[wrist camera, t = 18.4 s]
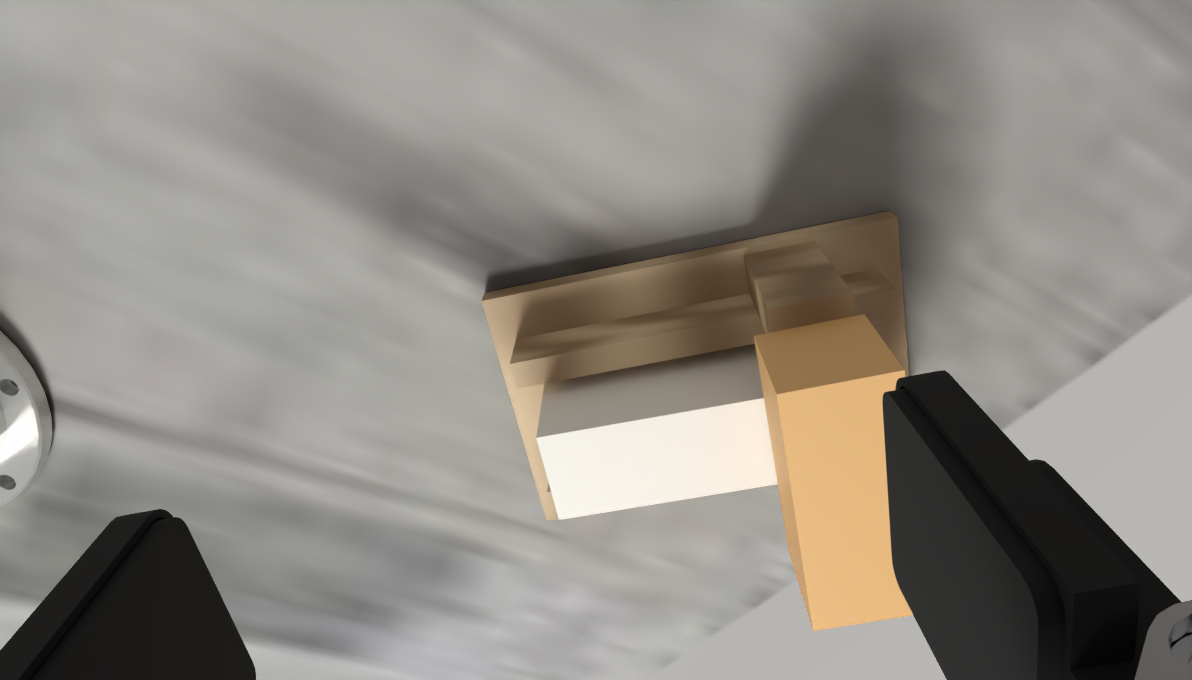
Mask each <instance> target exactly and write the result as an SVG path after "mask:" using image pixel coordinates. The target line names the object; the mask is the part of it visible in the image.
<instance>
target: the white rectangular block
mask: <svg viewBox="0 0 1192 680" xmlns="http://www.w3.org/2000/svg"><path fill="white" fill-rule="evenodd" d="M536 439H537V443H538V446H539V450H540V454H541V457H542V461H543V464H544V468H545V472H546V475H547V479H548V482H549V486H550V489H551V493H552V497H553V500H554V504H555V507H556V511H557V515H558V518H559V520H562V519H568V518H574V517H580V516H586V515H592V514H598V513H605V512H611V511H617V510H623V509H629V508H635V507H641V506H647V505H653V504H659V503H665V502H672V501H678V500H684V499H690V498H696V497H702V496H708V495H714V494H720V493H726V492H732V491H739V490H745V489H751V488H757V487H763V486H769V485H775V484H778V482H777V476H776V470H775V464H774V458H773V452H772V445H771V439H770V433H769V427H768V421H767V415H766V408H765V402H764V396H763V390H762V384H761V378H760V372H759V365H758V359H757V353H756V347H755V344H751V345H746V346H740V347H735V348H730V349H724V350H719V351H714V352H709V353H703V354H698V355H693V356H687V357H682V358H677V359H672V360H666V361H661V362H656V363H651V364H645V365H640V366H635V367H629V368H624V369H619V370H614V371H608V372H603V373H598V374H592V375H587V376H582V377H577V378H571V379H566V380H561V381H555V382H550V383H545V384H544V390H543V396H542V403H541V409H540V416H539V422H538V429H537V435H536Z"/></svg>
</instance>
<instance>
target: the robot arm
mask: <svg viewBox="0 0 1192 680" xmlns="http://www.w3.org/2000/svg"><path fill="white" fill-rule="evenodd" d="M883 421H884V438H885V454H886V471H887V487H888V504H889V520H890V537H891V554H892V564H893V569H894V573H895V577H896V580H897V583H898V586H899V588H900V590H901V592H902V594H903V596H904V598H905V600H906V602H907V604H908V606H909V608H910V609H911V611H912V613H913V615H914V617H915V619H916V621H917V623H918V625H919V627H920V629H921V630H922V633H923V635H924V636H925V638H926V640H927V642H928V644H929V646H930V648H931V650H932V652H933V654H934V656H935V658H936V660H937V662H938V663H939V665H940V667H941V669H942V671H943V673H944V675H945V677H946V679H947V680H1192V600H1190V601H1186V602H1181V601H1180V600H1179V599H1178V598H1177V597H1176V596H1175V595H1174V594H1173V593H1172V592H1171V591H1170V590H1169V589H1168V588H1167V587H1166V586H1165V585H1164V583H1163V582H1161V581H1160V579H1159V578H1158V577H1157V576H1156V575H1155V574H1154V573H1153V572H1152V571H1151V570H1150V569H1149V568H1148V567H1147V566H1146V565H1145V564H1144V563H1143V562H1142V560H1141V559H1140V558H1139V557H1138V556H1137V555H1136V554H1135V553H1134V552H1133V551H1132V550H1131V549H1130V548H1129V547H1128V546H1127V545H1126V544H1125V543H1124V542H1123V541H1122V539H1120V537H1119V536H1118V535H1116V533H1115V532H1114V531H1113V530H1112V529H1111V528H1110V527H1109V526H1108V525H1107V524H1106V523H1105V522H1104V521H1103V520H1102V519H1101V517H1100V516H1098V514H1097V513H1096V512H1095V511H1094V510H1093V509H1092V508H1091V507H1090V506H1089V505H1088V504H1087V503H1086V502H1085V501H1084V500H1083V499H1082V498H1081V497H1080V496H1079V494H1078V493H1077V492H1076V491H1075V490H1074V489H1073V488H1072V487H1071V486H1070V485H1069V484H1068V483H1067V482H1066V481H1065V480H1064V479H1063V478H1062V477H1061V476H1060V475H1059V474H1058V472H1056V470H1055V469H1054V468H1053V467H1051V466H1050V465H1049V464H1047V463H1046V462H1045V461H1042V460H1037V459H1036V460H1030V461H1029V460H1028V459H1027V458H1026V457H1025V456H1024V455H1023V454H1022V453H1021V451H1020V450H1019V449H1018V448H1017V447H1016V446H1015V445H1014V444H1013V443H1012V442H1011V441H1010V440H1009V438H1008V437H1007V436H1006V435H1005V434H1004V433H1003V432H1002V431H1001V430H1000V429H999V427H998V426H997V425H996V424H995V423H994V422H993V421H992V420H991V419H990V418H989V417H988V416H987V414H986V413H985V412H984V411H983V410H982V409H981V408H980V407H979V406H978V405H977V404H976V402H975V401H974V400H973V399H972V398H971V397H970V396H969V395H968V394H967V393H966V392H965V391H964V389H963V388H962V387H961V386H960V385H959V384H958V383H957V382H956V381H955V380H954V379H953V377H952V376H951V375H950V374H949V373H947V372H946V371H936V372H931V373H925V374H919V375H914V376H908V377H902V378H899V379H898V380H897V382H896V387H895V390H894V391H888V392H885V393H884V394H883ZM51 441H52V420H51V412H50V409H49V405H48V402H47V398H46V395H45V392H44V390H43V388H42V386H41V384H40V382H39V380H38V378H37V376H36V374H35V372H34V370H33V368H32V367H31V366H30V364H29V363H28V362H27V360H26V359H25V357H24V356H23V355H22V353H21V352H20V351H19V349H18V348H17V347H16V346H15V345H14V344H13V343H12V342H11V341H10V340H9V339H8V338H7V337H6V336H5V335H4V334H3V333H2V332H1V331H0V506H2V505H4V504H6V503H8V502H10V501H12V500H13V499H14V498H15V497H16V496H17V495H19V494H20V493H21V492H22V491H23V490H24V489H26V488H27V487H28V486H29V485H30V484H31V483H32V482H33V480H34V479H35V478H36V477H37V476H38V474H39V473H40V472H41V471H42V469H43V466H44V464H45V462H46V460H47V458H48V456H49V452H50V447H51ZM0 680H256V673H255V667H254V664H253V662H252V660H251V658H250V655H249V653H248V651H247V649H246V647H245V645H244V643H243V641H242V639H241V637H240V635H239V633H238V631H237V628H236V626H235V624H234V622H233V620H232V618H231V616H230V614H229V612H228V610H227V608H226V606H225V604H224V602H223V599H222V597H221V595H220V593H219V591H218V589H217V587H216V585H215V583H214V581H213V579H212V577H211V575H210V572H209V570H208V568H207V566H206V564H205V562H204V560H203V558H202V556H201V554H200V552H199V550H198V548H197V546H196V543H195V541H194V539H193V537H192V535H191V533H190V531H189V529H188V527H187V525H186V524H185V522H184V521H183V520H182V519H180V518H177V517H174V518H173V516H172V515H171V514H170V513H169V512H167V511H166V510H162V509H158V510H152V511H147V512H141V513H135V514H130V515H124V516H120V517H116V518H115V519H114V520H113V521H111V522H110V523H109V525H108V526H107V527H106V528H105V529H104V530H103V532H102V533H101V534H100V535H99V536H98V537H97V539H96V540H95V541H94V542H93V543H92V544H91V546H90V547H89V548H88V549H87V550H86V551H85V553H84V554H83V555H82V556H81V557H80V558H79V560H78V561H77V562H76V563H75V564H74V565H73V567H72V568H71V569H70V570H69V571H68V572H67V574H66V575H65V576H64V577H63V578H62V579H61V581H60V582H59V583H58V584H57V585H56V586H55V587H54V589H53V590H52V591H51V592H50V593H49V594H48V596H47V597H46V598H45V599H44V600H43V601H42V603H41V604H40V605H39V606H38V607H37V608H36V610H35V611H34V612H33V613H32V614H31V615H30V617H29V618H28V619H27V620H26V621H25V622H24V624H23V625H22V626H21V627H20V628H19V629H18V631H17V632H16V633H15V634H14V635H13V636H12V638H11V639H10V640H9V641H8V642H7V643H6V645H5V646H4V647H3V648H2V649H1V650H0Z"/></svg>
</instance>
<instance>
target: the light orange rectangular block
mask: <svg viewBox="0 0 1192 680" xmlns="http://www.w3.org/2000/svg"><path fill="white" fill-rule="evenodd" d="M754 341H755V347H756V353H757V359H758V365H759V372H760V378H761V384H762V390H763V396H764V402H765V408H766V415H767V421H768V427H769V433H770V439H771V445H772V452H773V458H774V464H775V470H776V476H777V482H778V488H779V495H780V501H781V507H782V513H783V519H784V525H785V532H786V538H787V544H788V550H789V554H790V557H791V560H792V564H793V567H794V570H795V573H796V577H797V580H798V583H799V587H800V590H801V593H802V596H803V600H804V603H805V606H806V609H807V613H808V616H809V619H810V623H811V626H812V629H813V631H816V630H822V629H829V628H835V627H842V626H847V625H854V624H860V623H866V622H873V621H879V620H886V619H892V618H898V617H904V616H911V615H913V613H912V611H911V609H910V608H909V606H908V604H907V602H906V600H905V598H904V596H903V594H902V592H901V590H900V588H899V586H898V583H897V580H896V577H895V573H894V569H893V564H892V554H891V537H890V520H889V504H888V487H887V471H886V454H885V438H884V421H883V394H884V393H885V392H888V391H894V390H895V387H896V382H897V380H898V379H899V378H902V377H905V370H904V368H903V367H902V366H901V364H900V363H899V361H898V360H897V359H896V357H895V356H894V354H893V353H892V352H891V350H890V349H889V348H888V346H887V345H886V343H885V342H884V341H883V339H882V338H881V337H880V335H879V334H878V332H877V331H876V330H875V328H874V327H873V326H872V324H871V323H870V321H869V320H868V319H867V317H866V316H865V315H864V314H862V315H857V316H852V317H847V318H842V319H837V320H832V321H827V322H822V323H817V324H812V325H807V326H801V327H796V328H791V329H786V330H781V331H776V332H771V333H766V334H761V335H756V336H754Z"/></svg>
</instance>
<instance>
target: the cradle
mask: <svg viewBox="0 0 1192 680" xmlns="http://www.w3.org/2000/svg"><path fill="white" fill-rule="evenodd" d="M482 304H483V308H484V311H485V314H486V318H487V321H488V324H489V328H490V331H491V334H492V338H493V341H494V345H495V348H496V351H497V355H498V358H499V361H500V365H501V368H502V371H503V375H504V378H505V382H506V385H507V388H508V392H509V395H510V398H511V402H512V405H513V408H514V412H515V415H516V419H517V422H518V425H519V429H520V432H521V435H522V439H523V442H524V446H525V449H526V452H527V456H528V459H529V462H530V466H531V469H532V472H533V476H534V479H535V483H536V486H537V489H538V493H539V496H540V499H541V503H542V506H543V509H544V513H545V516H546V520H553V519H559V518H558V515H557V511H556V507H555V504H554V500H553V497H552V493H551V489H550V486H549V482H548V479H547V475H546V472H545V468H544V464H543V461H542V457H541V454H540V450H539V446H538V443H537V439H536V435H537V429H538V422H539V416H540V409H541V403H542V396H543V390H544V384H545V383H550V382H555V381H561V380H566V379H571V378H577V377H582V376H587V375H592V374H598V373H603V372H608V371H614V370H619V369H624V368H629V367H635V366H640V365H645V364H651V363H656V362H661V361H666V360H672V359H677V358H682V357H687V356H693V355H698V354H703V353H709V352H714V351H719V350H724V349H730V348H735V347H740V346H746V345H751V344H755V341H754V336H756V335H761V334H766V333H771V332H776V331H781V330H786V329H791V328H796V327H801V326H807V325H812V324H817V323H822V322H827V321H832V320H837V319H842V318H847V317H852V316H857V315H862V314H864V315H865V316H866V317H867V319H868V320H869V321H870V323H871V324H872V326H873V327H874V328H875V330H876V331H877V332H878V334H879V335H880V337H881V338H882V339H883V341H884V342H885V343H886V345H887V346H888V348H889V349H890V350H891V352H892V353H893V354H894V356H895V357H896V359H897V360H898V361H899V363H900V364H901V366H902V367H903V368H904V370H905V377H908V376H909V369H908V355H907V340H906V326H905V312H904V298H903V284H902V270H901V256H900V242H899V228H898V217H897V216H896V215H895V214H894V213H892V212H891V211H886V212H881V213H876V214H871V215H866V216H861V217H857V218H852V219H847V220H842V221H837V222H832V223H827V224H822V225H817V226H812V227H807V228H802V229H797V230H792V231H787V232H782V233H778V234H773V235H768V236H763V237H758V238H753V239H748V240H743V241H738V242H733V243H728V244H723V245H718V246H713V247H708V248H703V249H698V250H694V251H689V252H684V253H679V254H674V255H669V256H664V257H659V258H654V259H649V260H644V261H639V262H634V263H629V264H624V265H619V266H615V267H610V268H605V269H600V270H595V271H590V272H585V273H580V274H575V275H570V276H565V277H560V278H555V279H550V280H545V281H540V282H536V283H531V284H526V285H521V286H516V287H511V288H506V289H501V290H496V291H491V292H486V293H484V296H483V299H482Z"/></svg>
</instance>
